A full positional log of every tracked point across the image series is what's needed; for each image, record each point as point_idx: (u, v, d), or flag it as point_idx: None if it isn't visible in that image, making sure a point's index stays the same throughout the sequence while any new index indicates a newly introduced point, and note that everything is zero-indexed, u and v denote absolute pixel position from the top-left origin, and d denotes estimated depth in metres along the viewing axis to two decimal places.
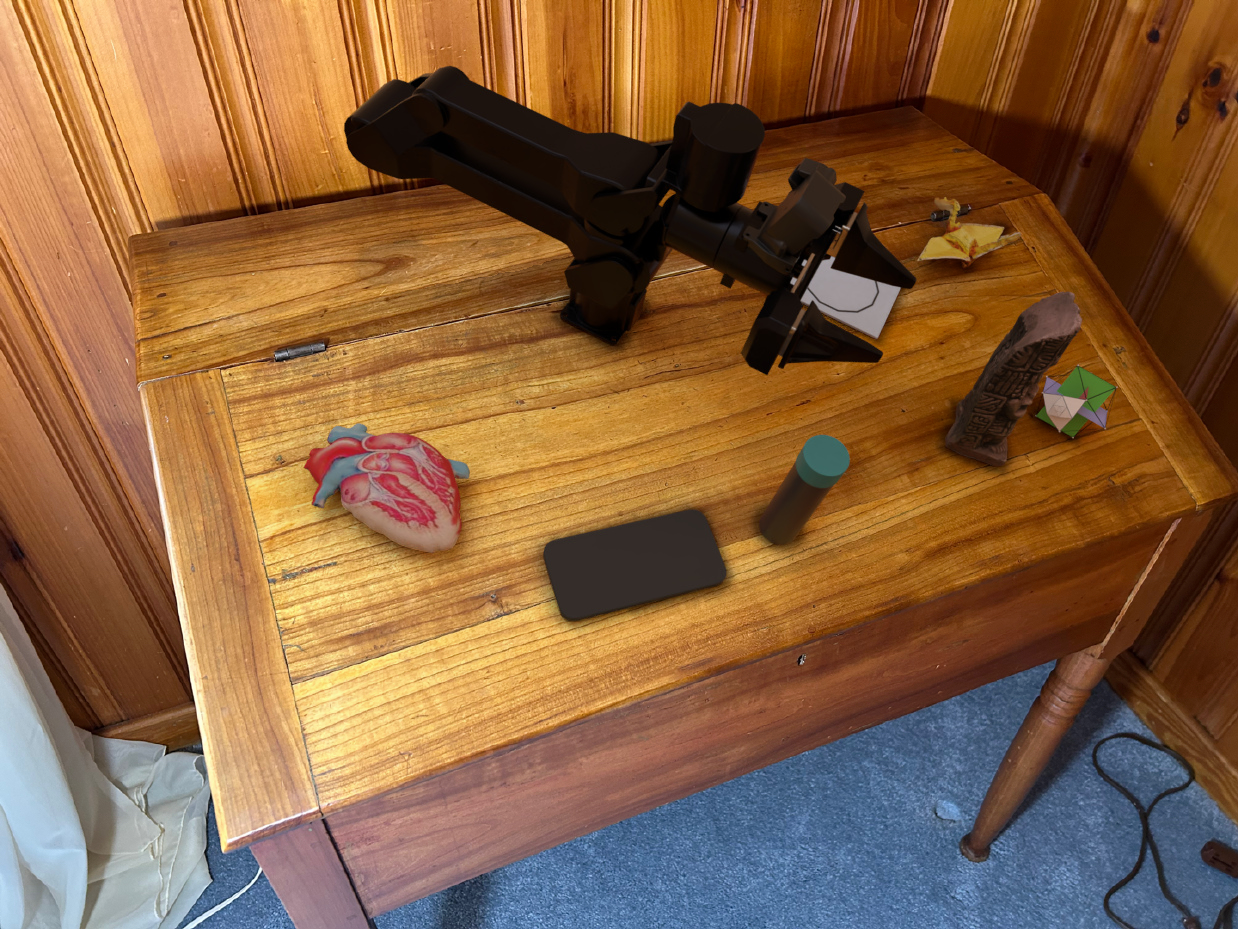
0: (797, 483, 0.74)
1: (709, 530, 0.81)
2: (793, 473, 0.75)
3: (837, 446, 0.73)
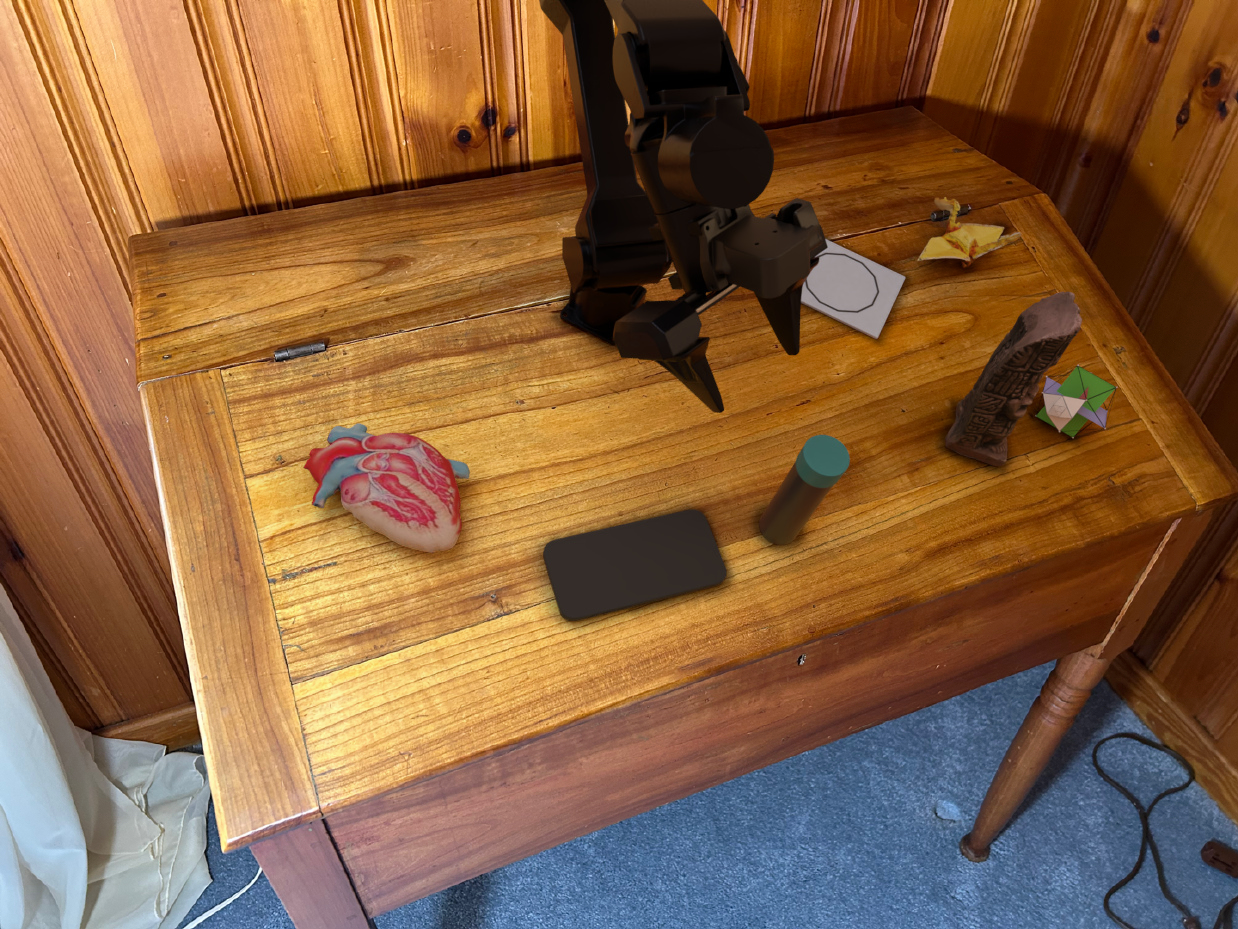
0: (797, 483, 0.74)
1: (709, 530, 0.81)
2: (793, 473, 0.75)
3: (837, 446, 0.73)
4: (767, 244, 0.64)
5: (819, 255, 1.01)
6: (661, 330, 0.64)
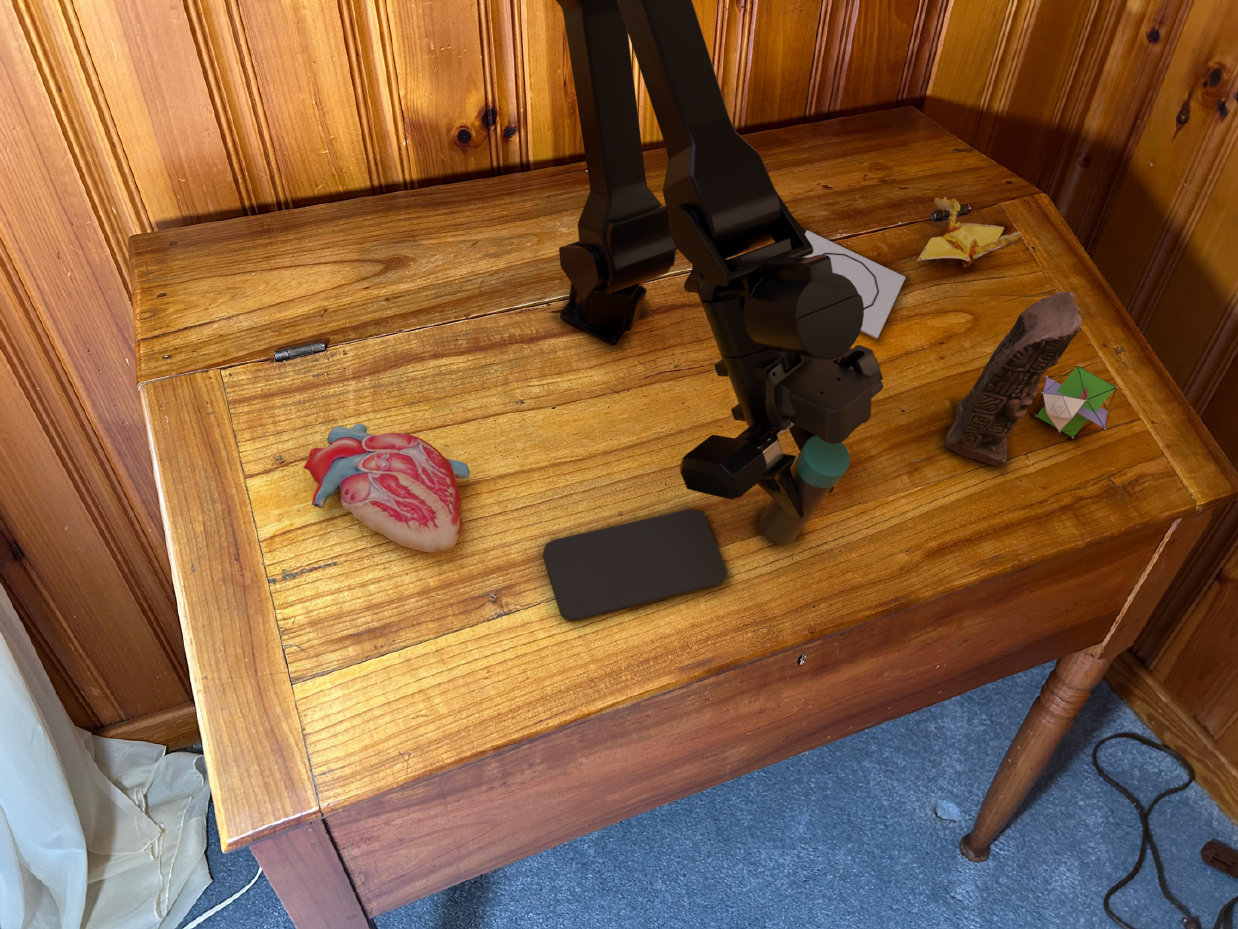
0: (797, 483, 0.74)
1: (709, 530, 0.81)
2: (793, 473, 0.75)
3: (837, 446, 0.73)
4: (832, 393, 0.67)
5: None
6: (730, 473, 0.68)
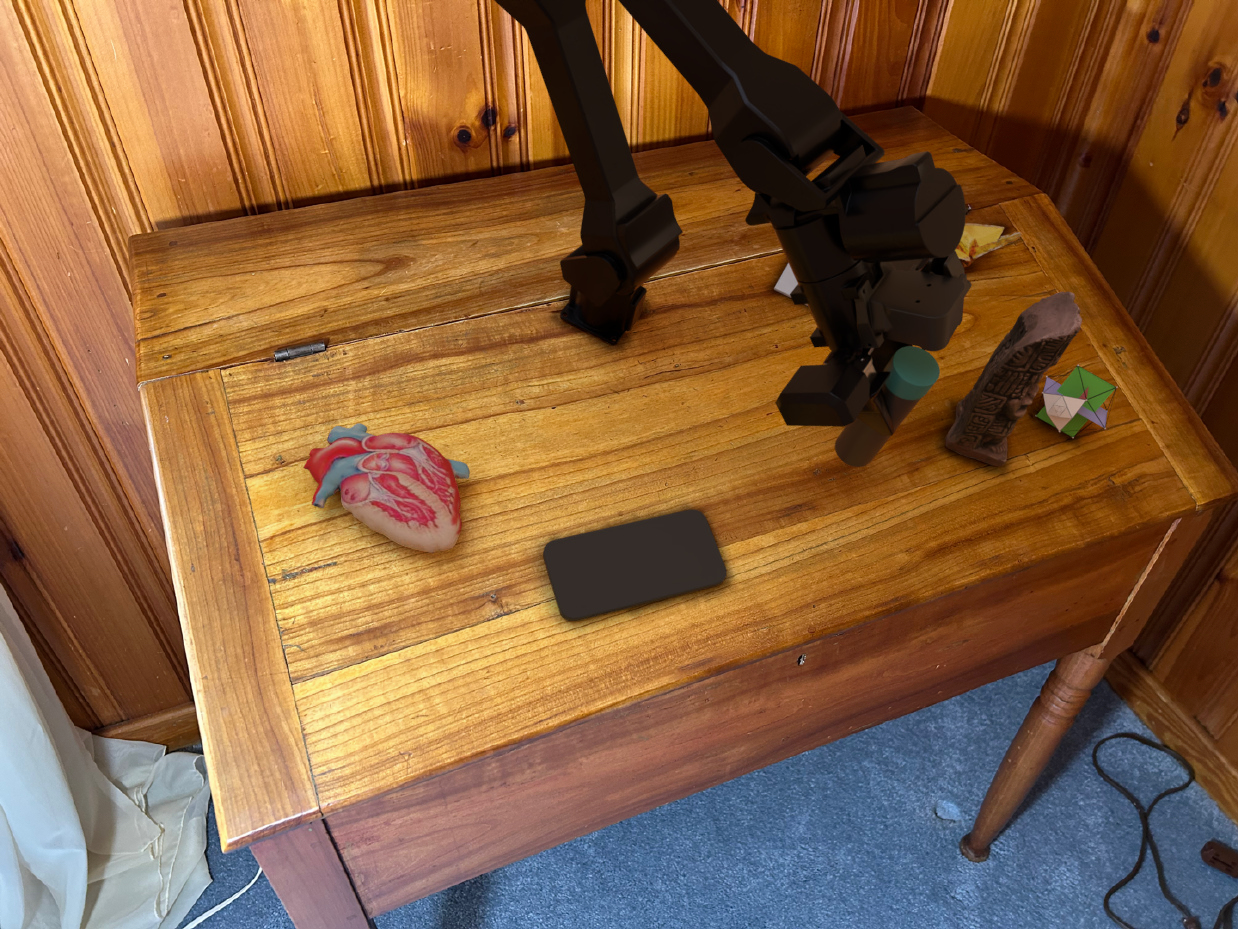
0: (887, 400, 0.73)
1: (709, 530, 0.81)
2: None
3: (923, 355, 0.72)
4: (929, 300, 0.66)
5: None
6: (841, 399, 0.66)
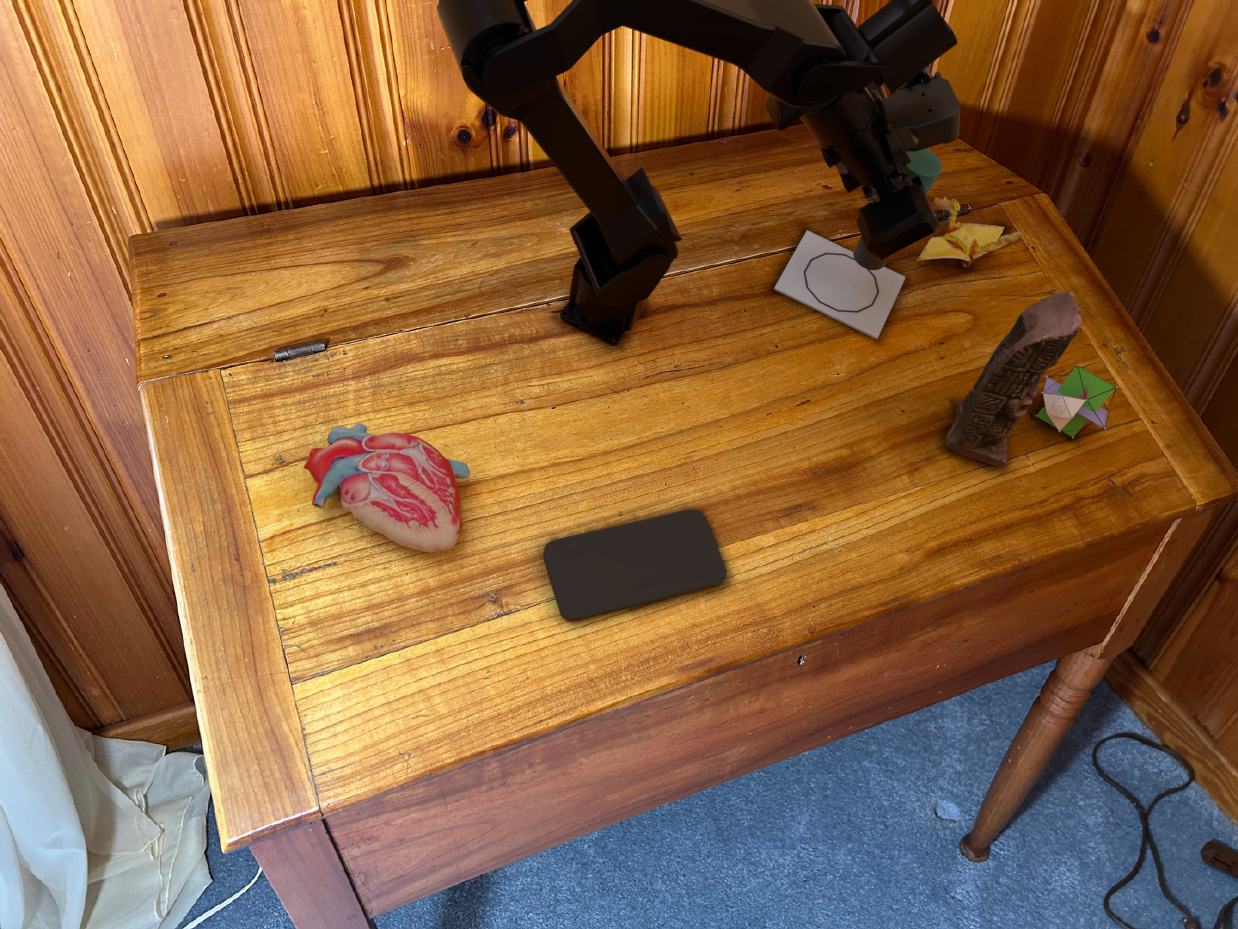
0: None
1: (709, 530, 0.81)
2: None
3: (918, 151, 0.86)
4: (936, 104, 0.79)
5: (819, 255, 1.01)
6: (928, 213, 0.79)
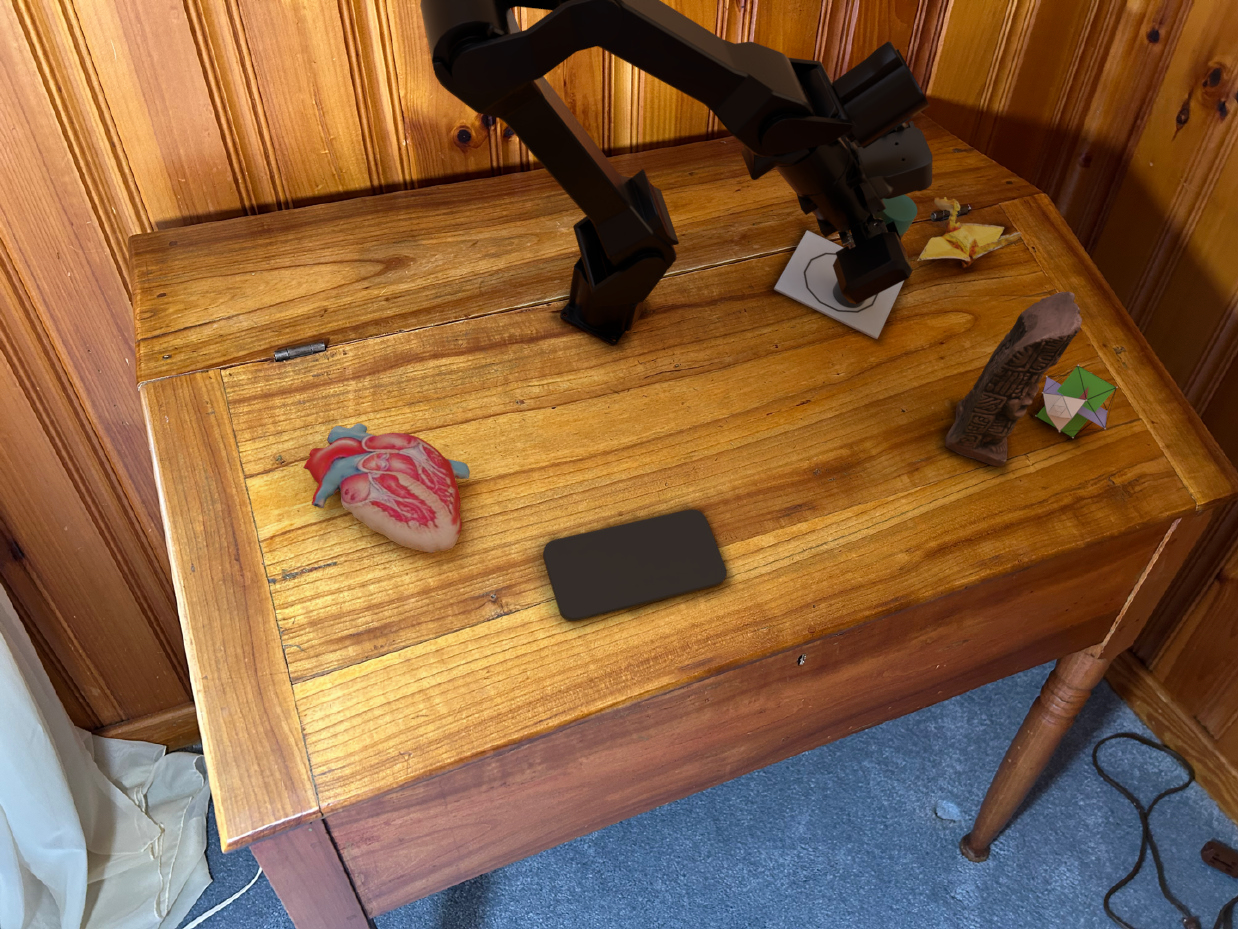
0: None
1: (709, 530, 0.81)
2: None
3: None
4: (909, 154, 0.81)
5: (819, 255, 1.01)
6: (901, 260, 0.81)
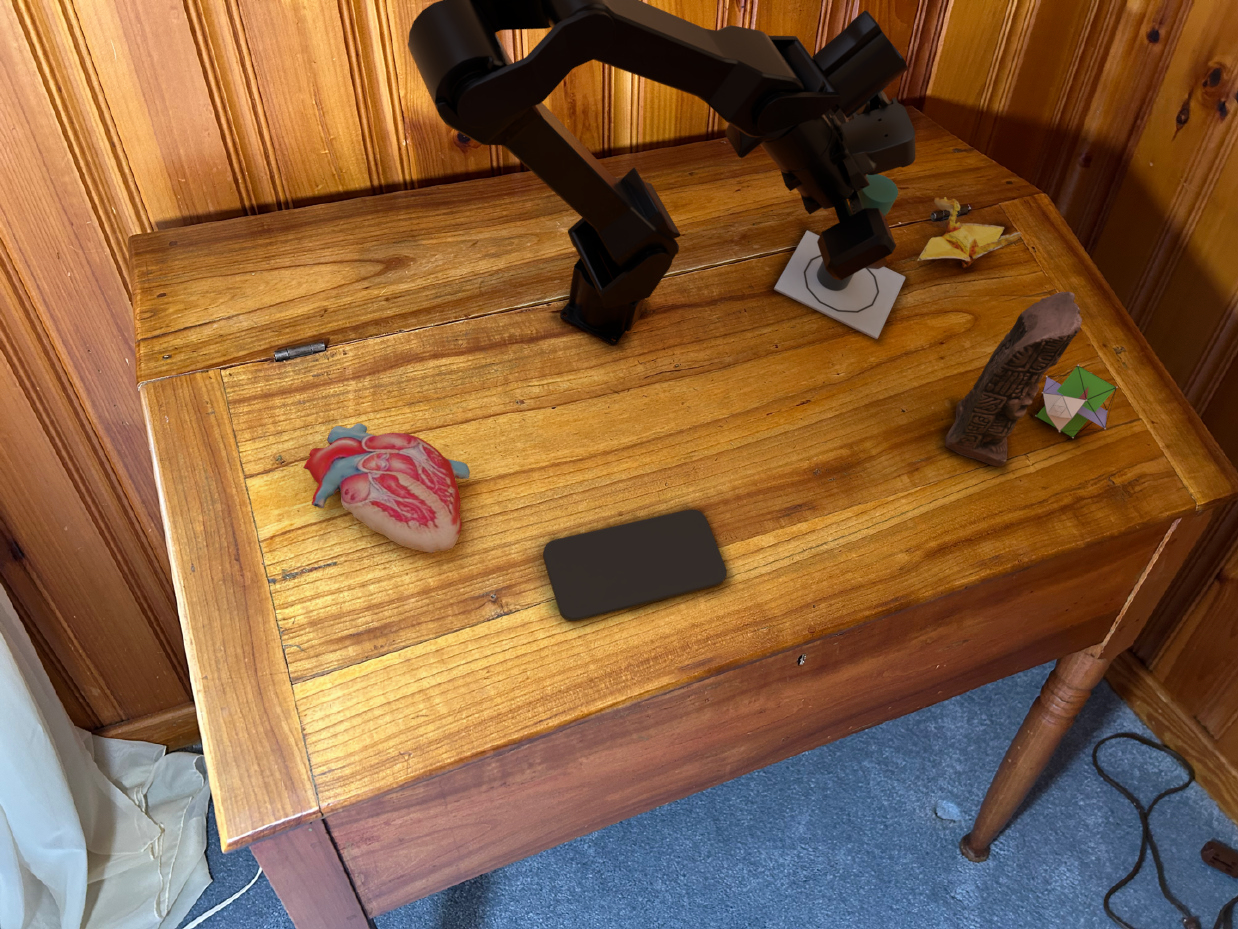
0: None
1: (709, 530, 0.81)
2: None
3: (876, 177, 0.89)
4: (892, 130, 0.82)
5: (819, 255, 1.01)
6: (884, 235, 0.81)
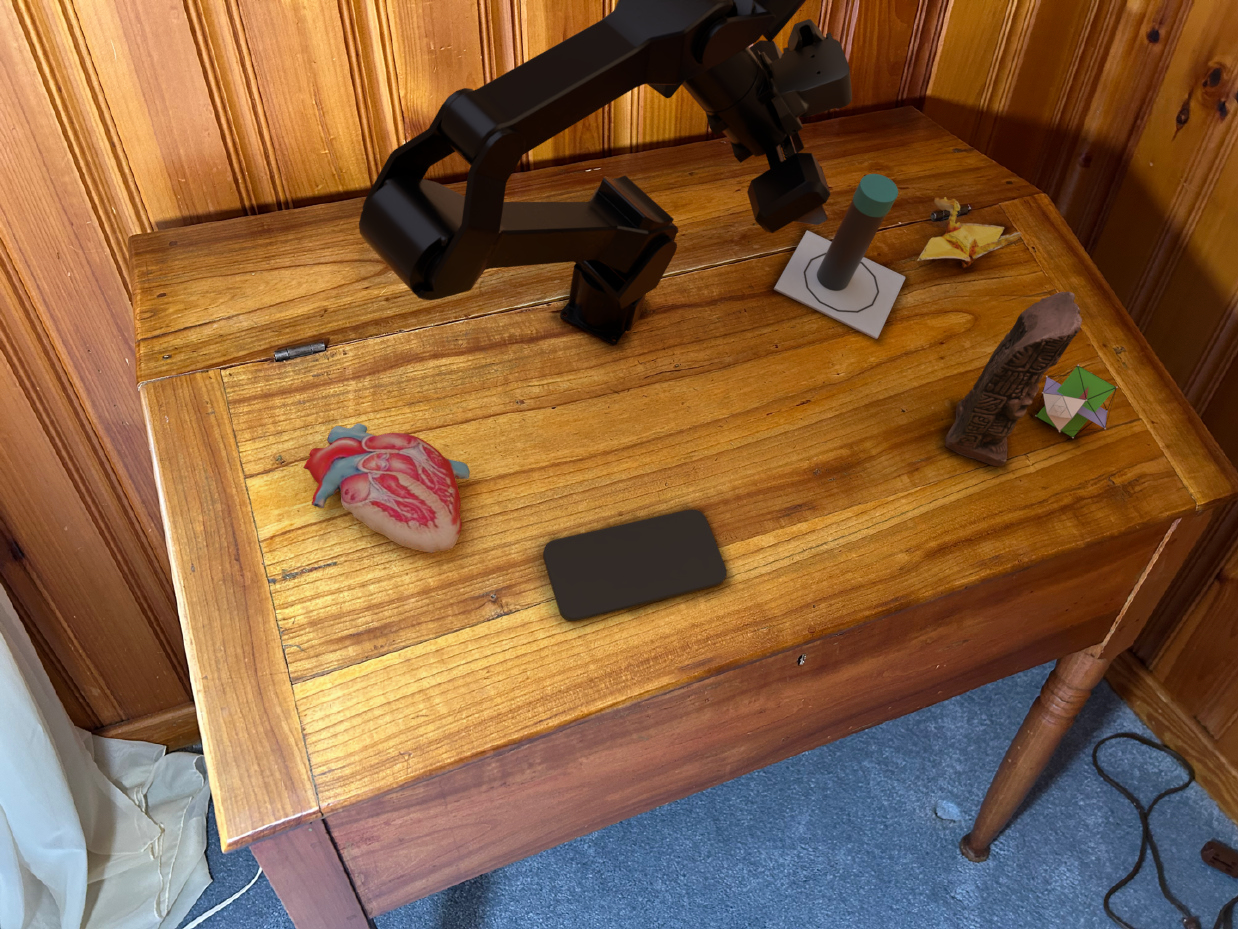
0: (868, 224, 0.90)
1: (709, 530, 0.81)
2: (861, 220, 0.90)
3: (876, 177, 0.89)
4: (825, 66, 0.75)
5: (819, 255, 1.01)
6: (817, 181, 0.74)
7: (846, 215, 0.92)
